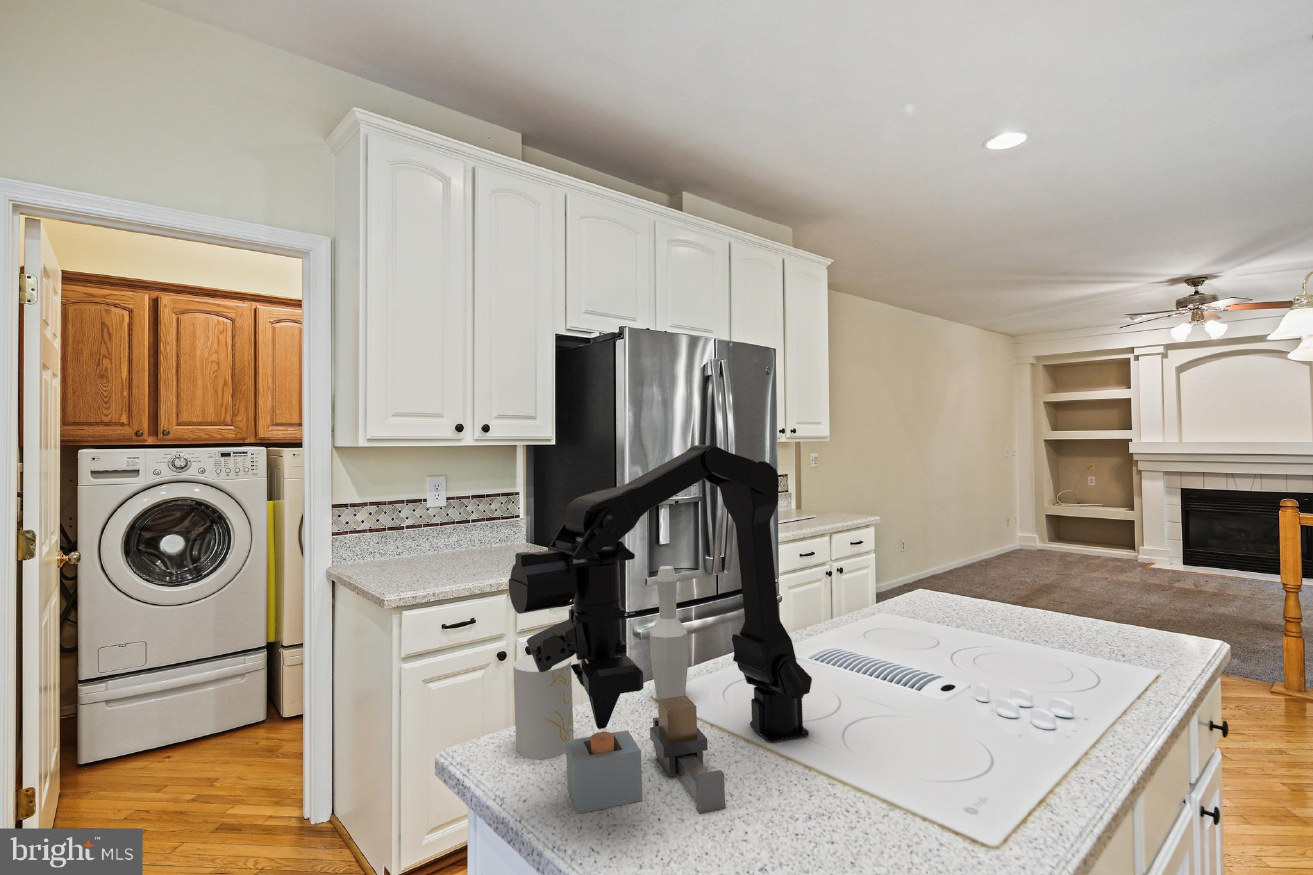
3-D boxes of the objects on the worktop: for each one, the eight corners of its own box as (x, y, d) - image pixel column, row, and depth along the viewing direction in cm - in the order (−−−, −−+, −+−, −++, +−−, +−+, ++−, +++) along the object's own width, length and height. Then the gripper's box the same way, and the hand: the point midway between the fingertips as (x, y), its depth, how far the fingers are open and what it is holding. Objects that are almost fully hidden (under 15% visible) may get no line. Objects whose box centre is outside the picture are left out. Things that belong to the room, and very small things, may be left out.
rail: (675, 742, 94) (674, 714, 94) (725, 808, 77) (724, 773, 77) (653, 746, 93) (652, 718, 93) (699, 813, 76) (698, 778, 76)
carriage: (692, 748, 91) (690, 691, 92) (708, 768, 86) (706, 707, 86) (650, 756, 90) (648, 697, 90) (664, 777, 84) (662, 714, 84)
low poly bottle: (654, 692, 113) (650, 563, 114) (691, 693, 112) (687, 563, 113) (649, 707, 107) (644, 571, 107) (688, 708, 106) (683, 570, 106)
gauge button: (611, 758, 83) (610, 730, 83) (617, 769, 80) (616, 739, 80) (589, 762, 82) (588, 733, 82) (594, 773, 79) (593, 743, 79)
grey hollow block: (629, 776, 85) (627, 730, 85) (642, 800, 79) (640, 750, 79) (567, 788, 82) (565, 740, 83) (576, 813, 77) (574, 762, 77)
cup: (562, 761, 90) (559, 672, 90) (506, 757, 91) (503, 670, 92) (581, 734, 98) (578, 653, 98) (529, 731, 99) (526, 651, 100)
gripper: (522, 590, 87) (526, 709, 87) (540, 626, 70) (545, 775, 70) (604, 582, 91) (608, 696, 91) (642, 615, 73) (647, 756, 73)
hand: (601, 727), depth 81 cm, fingers closed
